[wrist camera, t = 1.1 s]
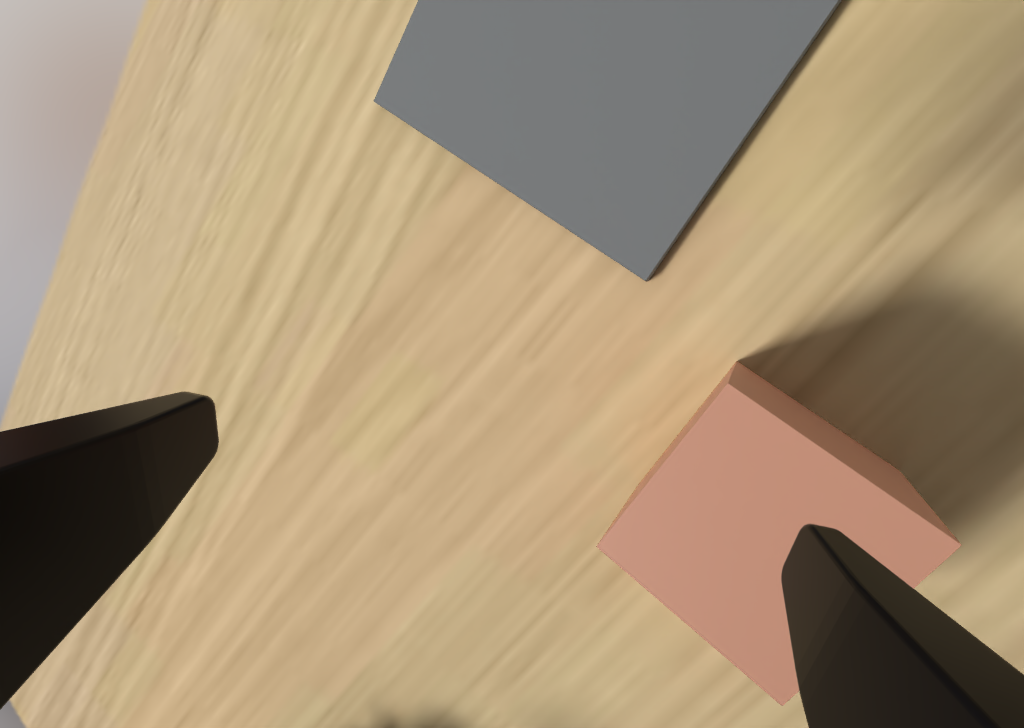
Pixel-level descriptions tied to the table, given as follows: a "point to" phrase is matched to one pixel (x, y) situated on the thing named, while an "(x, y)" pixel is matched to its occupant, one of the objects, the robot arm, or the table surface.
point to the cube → (762, 520)
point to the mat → (599, 101)
